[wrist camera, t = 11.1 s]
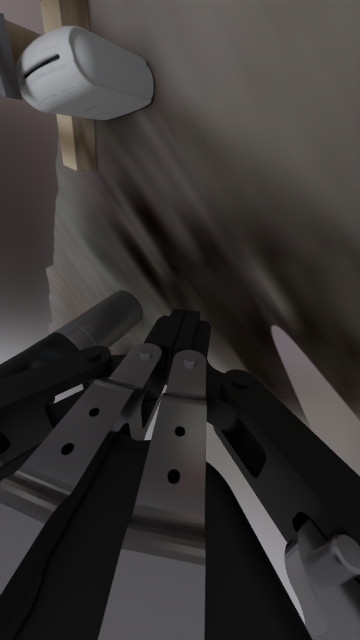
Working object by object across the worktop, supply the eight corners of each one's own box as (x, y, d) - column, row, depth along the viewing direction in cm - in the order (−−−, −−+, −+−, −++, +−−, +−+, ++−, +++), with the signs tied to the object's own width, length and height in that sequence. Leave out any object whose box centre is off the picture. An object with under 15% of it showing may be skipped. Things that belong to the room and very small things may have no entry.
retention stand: (114, 177, 35) (29, 186, 25) (83, 164, 36) (-9, 167, 26) (114, -54, 21) (-80, -242, 11) (64, -60, 22) (-147, -230, 13)
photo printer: (102, 125, 31) (17, 114, 23) (92, 83, 29) (-7, 53, 20) (157, 106, 26) (77, 83, 18) (151, 54, 24) (54, -1, 16)
